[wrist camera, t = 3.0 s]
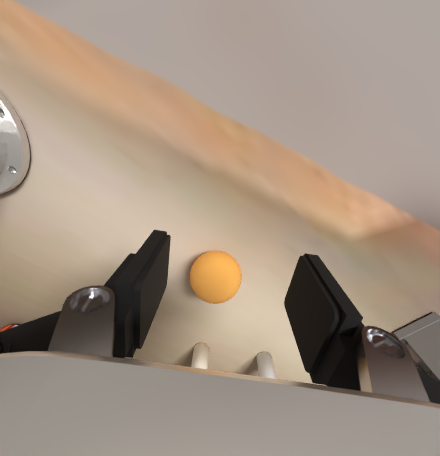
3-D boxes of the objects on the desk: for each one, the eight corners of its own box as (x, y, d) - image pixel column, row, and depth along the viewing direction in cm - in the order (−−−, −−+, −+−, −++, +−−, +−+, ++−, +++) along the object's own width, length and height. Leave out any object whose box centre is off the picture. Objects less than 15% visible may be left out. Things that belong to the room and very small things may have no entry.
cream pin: (194, 342, 35) (185, 403, 27) (210, 344, 35) (205, 405, 27) (193, 352, 36) (183, 414, 28) (208, 354, 36) (202, 417, 28)
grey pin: (258, 350, 35) (266, 413, 27) (273, 353, 35) (286, 416, 27) (254, 361, 36) (262, 425, 28) (269, 363, 36) (280, 427, 28)
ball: (196, 238, 28) (188, 265, 22) (244, 245, 28) (248, 274, 22) (191, 278, 30) (183, 311, 24) (235, 284, 30) (237, 319, 25)
